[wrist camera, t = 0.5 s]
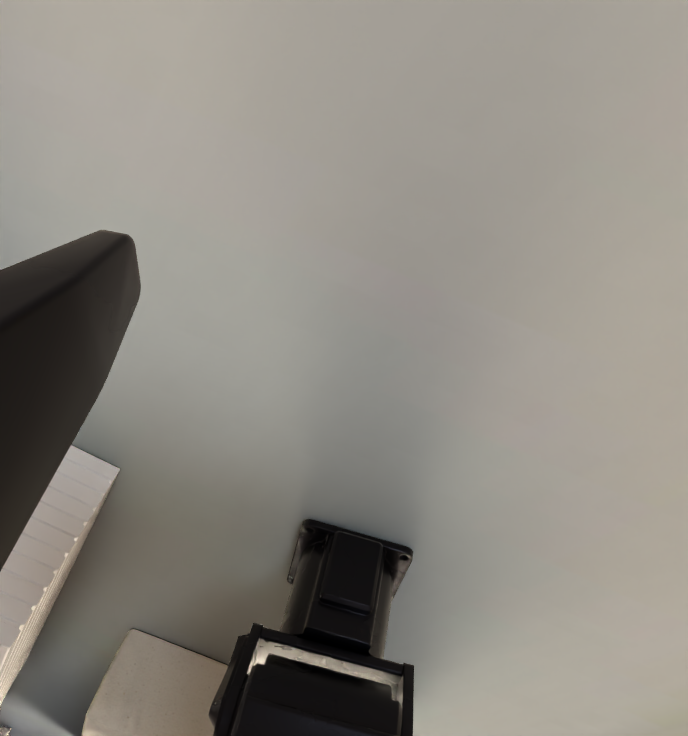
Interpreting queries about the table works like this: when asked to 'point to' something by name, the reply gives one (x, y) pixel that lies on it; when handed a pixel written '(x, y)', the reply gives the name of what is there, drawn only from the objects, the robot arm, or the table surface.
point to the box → (154, 691)
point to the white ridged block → (48, 555)
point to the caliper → (4, 729)
